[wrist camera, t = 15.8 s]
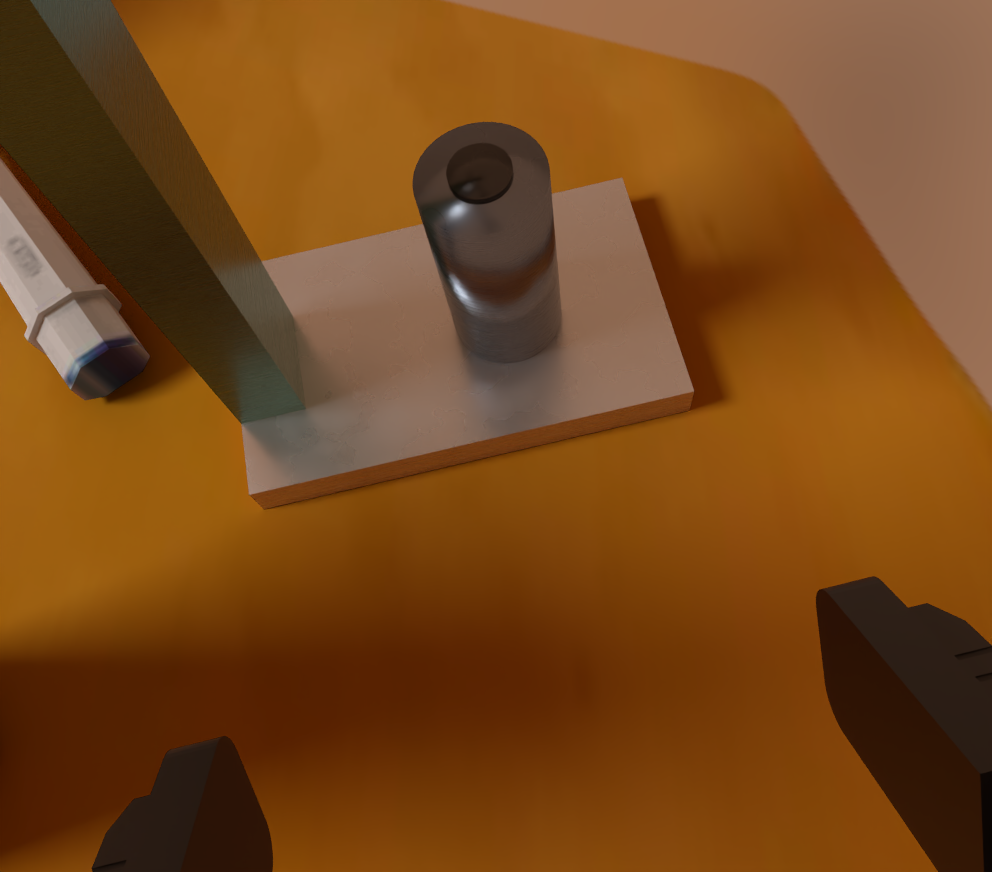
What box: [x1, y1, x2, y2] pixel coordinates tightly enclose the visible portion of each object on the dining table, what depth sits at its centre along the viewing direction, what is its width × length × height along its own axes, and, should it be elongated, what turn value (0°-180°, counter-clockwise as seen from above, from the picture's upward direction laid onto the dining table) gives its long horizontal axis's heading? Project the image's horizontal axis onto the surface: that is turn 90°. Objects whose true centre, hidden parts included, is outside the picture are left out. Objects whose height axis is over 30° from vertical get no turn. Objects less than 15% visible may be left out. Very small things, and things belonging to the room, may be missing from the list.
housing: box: [413, 122, 562, 363], centre depth 37 cm, size 5×5×10 cm
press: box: [0, 0, 694, 509], centre depth 31 cm, size 20×21×32 cm
